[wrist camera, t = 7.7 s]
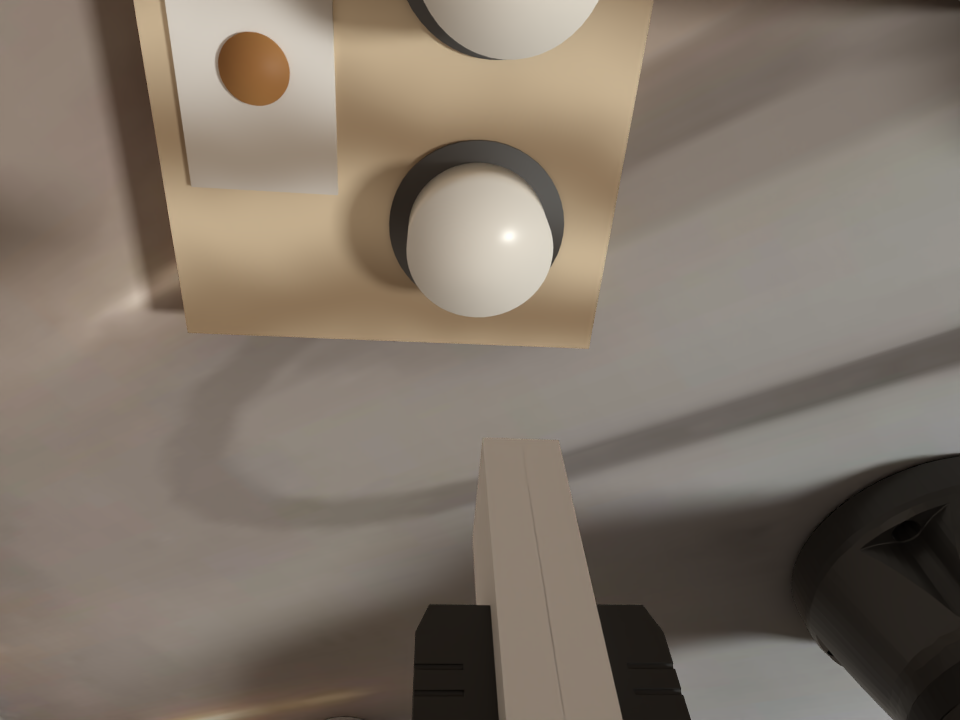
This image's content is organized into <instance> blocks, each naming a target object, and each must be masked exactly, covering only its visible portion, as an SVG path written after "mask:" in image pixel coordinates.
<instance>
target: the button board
mask: <svg viewBox="0 0 960 720" xmlns="http://www.w3.org/2000/svg"><path fill="white" fill-rule="evenodd" d="M133 1H134V7H135V13H136V19H137V26H138V32H139V38H140V44H141V50H142V56H143V62H144V68H145V74H146V80H147V87H148V93H149V99H150V105H151V111H152V117H153V123H154V129H155V135H156V141H157V148H158V154H159V160H160V166H161V172H162V178H163V184H164V190H165V196H166V202H167V208H168V215H169V221H170V227H171V233H172V239H173V245H174V251H175V257H176V263H177V269H178V276H179V282H180V288H181V294H182V300H183V306H184V312H185V318H186V324H187V330H188V333H206V334H231V335H256V336H282V337H307V338H332V339H357V340H383V341H408V342H433V343H458V344H484V345H509V346H534V347H559V348H584V349H589V344H590V339H591V334H592V328H593V323H594V318H595V312H596V307H597V302H598V296H599V291H600V286H601V280H602V275H603V269H604V264H605V259H606V253H607V248H608V243H609V237H610V232H611V227H612V221H613V216H614V211H615V205H616V200H617V194H618V189H619V184H620V178H621V173H622V168H623V162H624V157H625V152H626V146H627V141H628V136H629V130H630V125H631V119H632V114H633V109H634V103H635V98H636V93H637V87H638V82H639V77H640V71H641V66H642V61H643V55H644V50H645V44H646V39H647V34H648V28H649V23H650V18H651V12H652V7H653V2H654V0H599V1H598V3H597V4H596V6H595V8H594V9H593V11H592V13H591V14H590V16H589V17H588V18H587V19H586V21H585V22H584V23H583V25H582V26H581V27H580V28H579V29H578V30H577V31H576V32H575V33H574V34H573V35H572V36H570V37H569V38H568V39H567V40H565V41H564V42H563V43H561V44H560V45H558V46H556V47H555V48H553V49H551V50H549V51H547V52H544V53H542V54H540V55H536V56H533V57H529V58H524V59H517V60H502V59H496V58H490V57H487V56H483V55H480V54H477V53H475V52H473V51H471V50H469V49H467V48H465V47H464V46H462V45H460V44H459V43H457V42H456V41H455V40H454V39H452V38H451V37H450V36H449V35H448V34H447V33H446V32H445V31H444V30H443V29H442V28H441V27H440V26H439V25H438V23H437V22H436V21H435V19H434V18H433V16H432V15H431V14H430V12H429V10H428V8H427V6H426V5H425V3H424V1H423V0H133ZM467 163H490V164H495V165H499V166H502V167H504V168H507V169H509V170H511V171H513V172H514V173H516V174H518V175H519V176H520V177H522V178H523V179H524V180H525V181H526V182H527V183H528V184H529V185H530V186H531V187H532V188H533V190H534V191H535V193H536V194H537V196H538V198H539V200H540V202H541V205H542V207H543V210H544V213H545V216H546V218H547V221H548V224H549V227H550V229H551V234H552V238H553V257H552V262H551V266H550V269H549V272H548V274H547V276H546V278H545V280H544V282H543V283H542V285H541V286H540V288H539V289H538V290H537V291H536V292H535V293H534V295H533V296H531V297H530V298H529V299H528V300H527V301H526V302H524V303H523V304H521V305H520V306H518V307H516V308H514V309H512V310H511V311H508V312H505V313H503V314H499V315H495V316H489V317H466V316H461V315H457V314H454V313H451V312H448V311H446V310H444V309H442V308H440V307H439V306H437V305H436V304H434V303H433V302H432V301H430V300H429V299H428V298H427V297H426V296H425V295H424V294H423V293H422V292H421V291H420V289H419V288H418V286H417V285H416V283H415V282H414V280H413V278H412V276H411V273H410V270H409V267H408V262H407V252H406V248H407V237H408V225H409V217H410V213H411V209H412V207H413V204H414V202H415V200H416V198H417V196H418V194H419V193H420V192H421V190H422V189H423V188H424V186H425V185H426V184H427V183H428V182H429V181H430V180H432V179H433V178H434V177H436V176H437V175H438V174H440V173H442V172H443V171H445V170H447V169H450V168H452V167H454V166H458V165H462V164H467Z"/></svg>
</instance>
